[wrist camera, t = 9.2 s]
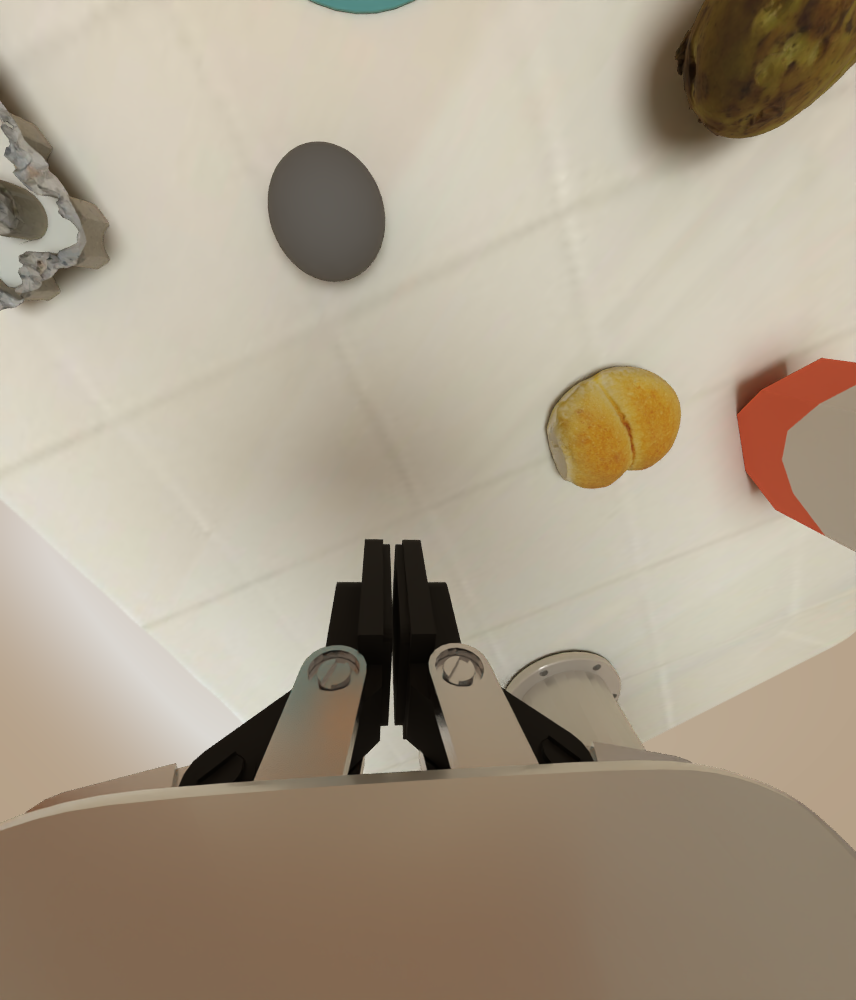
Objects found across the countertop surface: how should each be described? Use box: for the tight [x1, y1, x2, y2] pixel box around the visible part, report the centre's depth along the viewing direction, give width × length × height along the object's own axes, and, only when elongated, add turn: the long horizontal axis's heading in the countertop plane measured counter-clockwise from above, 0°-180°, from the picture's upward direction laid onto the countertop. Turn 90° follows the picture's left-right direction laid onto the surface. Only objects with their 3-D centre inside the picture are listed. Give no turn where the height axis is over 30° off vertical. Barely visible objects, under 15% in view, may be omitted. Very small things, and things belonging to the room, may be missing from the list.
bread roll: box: [547, 366, 681, 488], centre depth 28 cm, size 8×9×4 cm
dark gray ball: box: [268, 142, 385, 282], centre depth 19 cm, size 6×6×6 cm
